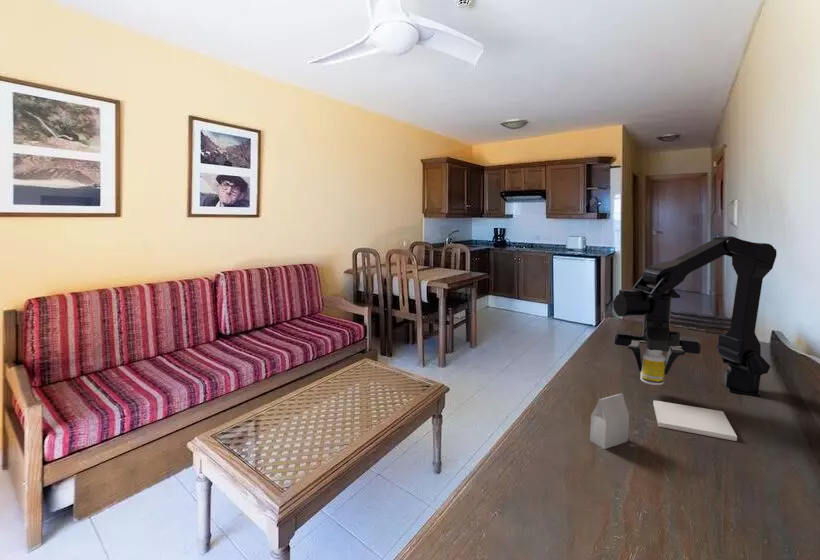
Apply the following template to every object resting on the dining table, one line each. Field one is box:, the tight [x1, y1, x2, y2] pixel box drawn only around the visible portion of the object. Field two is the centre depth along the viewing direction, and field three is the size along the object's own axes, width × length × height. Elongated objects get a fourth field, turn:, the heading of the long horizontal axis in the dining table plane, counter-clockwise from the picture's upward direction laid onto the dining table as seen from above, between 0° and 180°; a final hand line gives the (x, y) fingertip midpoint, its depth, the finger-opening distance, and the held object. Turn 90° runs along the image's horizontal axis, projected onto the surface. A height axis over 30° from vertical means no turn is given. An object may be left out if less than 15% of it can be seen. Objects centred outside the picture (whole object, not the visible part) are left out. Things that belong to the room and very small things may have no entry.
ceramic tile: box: [652, 400, 738, 442], centre depth 90 cm, size 14×12×1 cm
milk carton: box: [589, 392, 630, 450], centre depth 83 cm, size 4×7×10 cm, turn 114°
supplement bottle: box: [639, 347, 667, 386], centre depth 103 cm, size 5×5×10 cm
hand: (652, 372), depth 103 cm, fingers closed on supplement bottle, 5 cm apart
